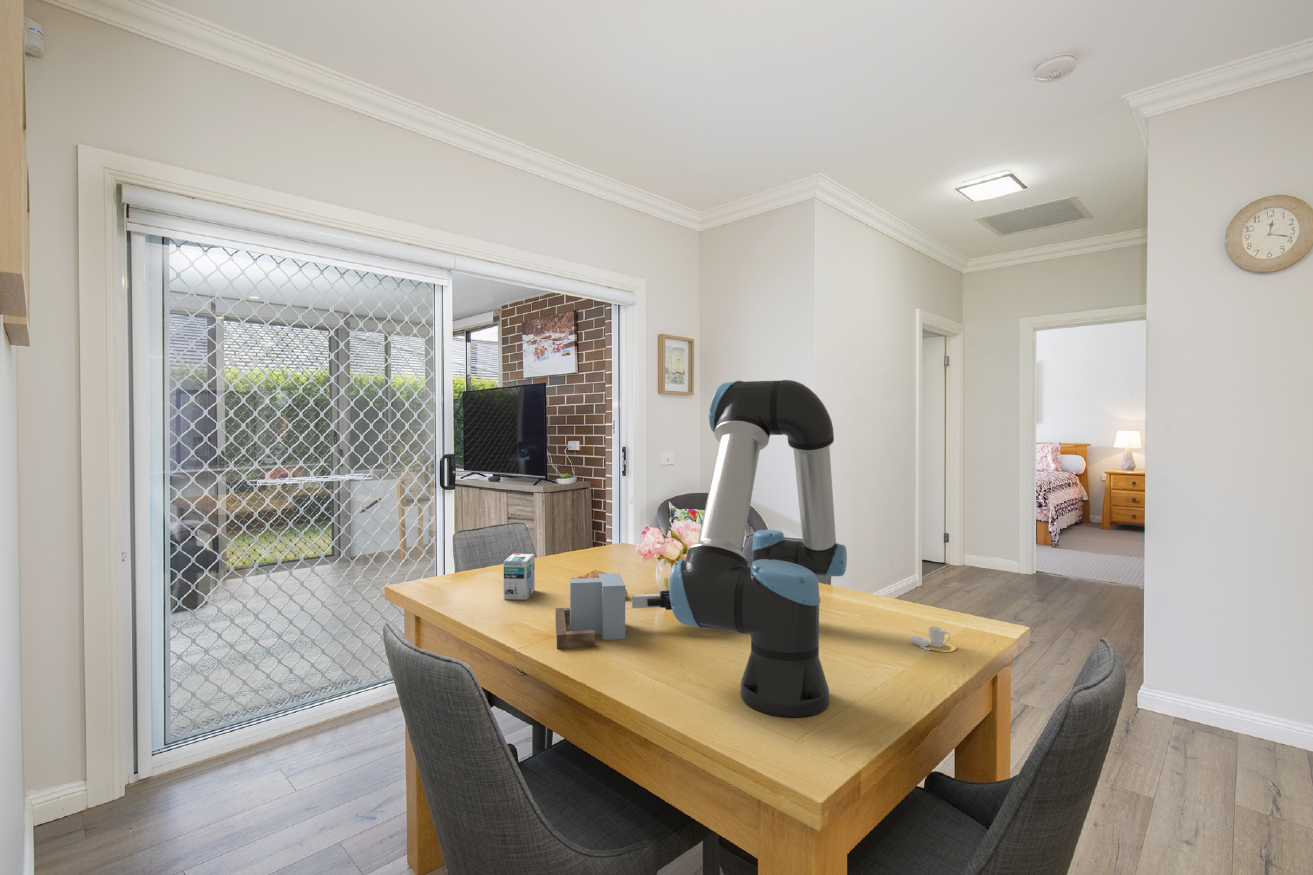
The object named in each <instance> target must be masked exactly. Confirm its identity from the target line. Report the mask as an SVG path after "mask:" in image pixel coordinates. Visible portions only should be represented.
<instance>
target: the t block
mask: <svg viewBox="0 0 1313 875" xmlns="http://www.w3.org/2000/svg"><path fill="white" fill-rule="evenodd" d="M625 589H626V584H625V582H624V580H623V578H622V576H621V574H620V572H618V573H617V572H616V573H614V572H613V573H611V572H610V573H609V572H608V573H607V574H599V578H580V579H572V578H569V608H570V622H569V631H584V630H594V632H595V635H601V638H602V640H603V641H607V640H608V641H609V640H611V641H612V640H626V597H625Z"/></svg>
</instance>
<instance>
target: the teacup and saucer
mask: <svg viewBox="0 0 1313 875" xmlns="http://www.w3.org/2000/svg"><path fill="white" fill-rule="evenodd" d="M946 634H948V635H949V636H948V638H947V640H946V641H945V635H946ZM928 635H929V636H928V638H929V639H930V642H928V639H927V638H924V637H922V636H917V635H913V636H911V638H910V641H911V643H912V644H914V645H916V646H918V647H919V648H921V649H923V650H925V651H926V650H927V651H929V650H930V649H931V648H928V646H929V645H930V646H931V645H932V646H935V647H934V648H936V647H941V648H943V647H944V646H945V645H946V643H947V642H948V643H949V641H950V639H951V633H950V632H949V631H945V629H944V628H942V627H937V626H931V627H928ZM944 641H945V643H943V642H944ZM932 646H931V647H932ZM927 648H928V649H927Z"/></svg>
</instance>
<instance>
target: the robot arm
mask: <svg viewBox="0 0 1313 875" xmlns="http://www.w3.org/2000/svg"><path fill="white" fill-rule="evenodd" d="M708 410H709V414H708V422H709V426H710V429H711V431H712V432H713V434H714V437H715V439H716V440H717V442H718V443H719V444H718V447H717V448H718V449H717V453H716V457H715V462H714V466H713V470H712V475H711V479H710V485H709V489H708V494H707V498H706V499H707V500H706V502H705V507H704V508H705V509H704V511H703V512H704V513H703V517H702V521H701V526H700V531H699V535H698V541H697V543H695V544H693V545H691V546H690V547H689V548H688V549H687V553H686V558H685V560H684V559H680V560H677V561H675V562H674V564H673V565H672V567H671V569H670V575H669V583H668V585H669V586H668V590H661V591H659V592H660V593H651V594H648V593H647V594H632V595H631V601H632V602H631V603H632V604H631V607H632V609H647V608H662V609H663V608H664V609H665V610H667V611H672V614H673V616H674V617H675V619H676V620H677V621H678V622H679V623H680V624H681V625H685V626H691V627H695V628H696V629H697V628H698V629H699V630H700V629H708V630H715V631H722V632H728V633H736V634H743V635H749V636H750V639H751V640H750V641H751V642H750V654H749V656H748V659H747V663H746V665H745V668H744V671H743V674H742V676H741V681H740V698H741V700H742V701H743V702H744V703H745V704H746V705H747V706H748V707H751V708H752V709H754V710H756V711H759V712H760V713H761V712H762V713H765V714H768V715H772V716H778V717H785V718H802V717H808V716H809V717H810V716H814V715H817V714H820V713H822V712H823V711H825V710H826V709H827V708H828V706H829V704H830V690H829V684H828V682H827V679H826V675H825V672H824V670H823V665H822V663H821V659H820V654H819V653H820V650H819V648H820V604H821V597H820V587H819V586H820V584H819V579H818V576H823V577H843V576H844V575H845V573H846V571H847V563H848V555H847V547H846V545H844V544H841V543H839V542H838V543H837V541H836V540H837V537H836V535H837V534H836V523H835V509H834V492H833V491H834V490H833V475H832V465H831V446H832V445H833V444H834V441H835V435H834V427H833V421H832V419H831V416H830V413H829V412H828V410H827V408H826V406H825V405H824V403H823V401H822V400H821V399H820V397H819V396H818V395H817V394H816V393H815V392H814V391H812V389H810V387H807V386H806V385H805V384H803V383H801V382H799V381H796V380H792V379H791V380H790V379H781V380H759V381H757V380H755V381H754V380H753V381H751V380H750V381H743V380H736V381H730V382H724V383H721V384H720V385H718V386H717V387H716V389H715V390H714V392H713V394H712V397H711V400H710V403H709V409H708ZM776 435H777V436H783V435H785V436H787V443H788V446H789V447H790V448H791V449H793V456H794V458H793V459H794V466H795V478H796V489H797V497H798V508H799V517H800V528H801V538H802V540H790V539H785V536H784V532H783V531H781V530H775V529H760V530H757V531H755V532H754V533H753V534H752V548H751V551H752V553H751V554H752V557H751V560H752V561H751V562H752V563H751V564H750V567H749V561H748V558H747V557H746V556H745V554H744V553H743V547H744V543H745V542H744V541H745V535H746V531H747V524H748V518H749V514H750V513H749V512H750V508H751V504H752V503H751V502H752V496H753V490H754V485H755V484H754V483H755V479H756V474H757V468H758V462H759V456H760V451H761V450H764V449H765V448H766V447H767V446H768V445H769V441H770V437H771V436H776Z"/></svg>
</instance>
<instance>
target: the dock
mask: <svg viewBox="0 0 1313 875" xmlns="http://www.w3.org/2000/svg"><path fill="white" fill-rule="evenodd" d="M554 614H555V616H554V618H555V620H554V621H555V637H556V648H557V650H562V649H564V650H565V649H576V648H577V649H578V648H580V649H581V648H582V649H583V648H594V647H596V646H595V644H596V642H595V641H596V640H595V635H596V634H595V632H594V630H584V631H570V630H569V631H567V627H566V623H570V607H555V613H554Z"/></svg>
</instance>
